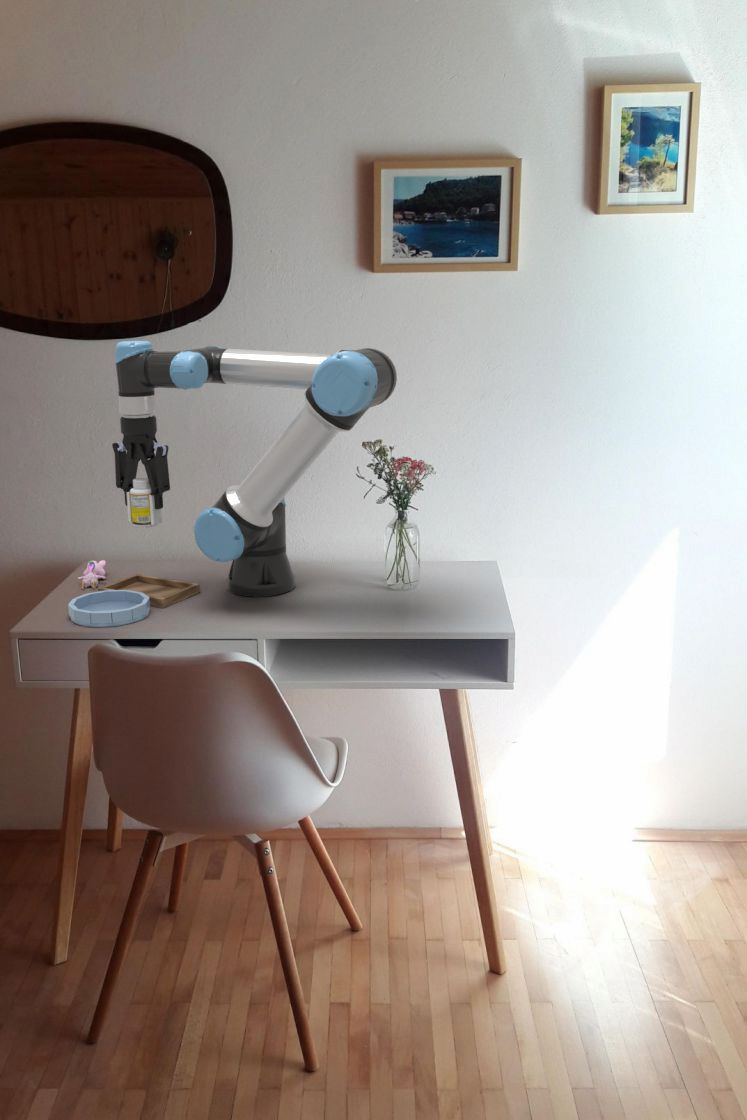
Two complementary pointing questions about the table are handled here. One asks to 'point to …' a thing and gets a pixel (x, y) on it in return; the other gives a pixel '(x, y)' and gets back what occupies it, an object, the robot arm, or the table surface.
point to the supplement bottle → (141, 503)
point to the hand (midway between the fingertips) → (145, 521)
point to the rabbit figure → (93, 574)
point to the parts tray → (156, 589)
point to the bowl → (109, 608)
